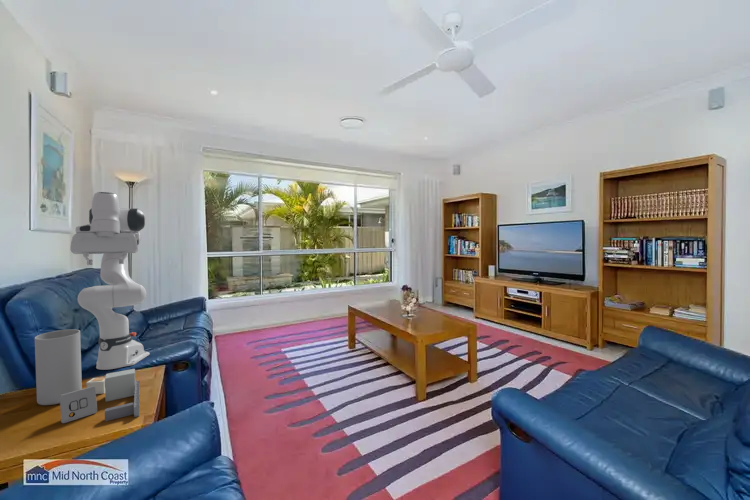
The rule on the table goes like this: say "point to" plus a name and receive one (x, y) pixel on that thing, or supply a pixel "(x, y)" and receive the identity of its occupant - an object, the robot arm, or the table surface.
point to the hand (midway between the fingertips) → (105, 264)
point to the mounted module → (119, 384)
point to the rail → (137, 399)
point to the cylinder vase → (57, 365)
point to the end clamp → (119, 411)
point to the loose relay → (97, 384)
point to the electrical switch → (78, 404)
